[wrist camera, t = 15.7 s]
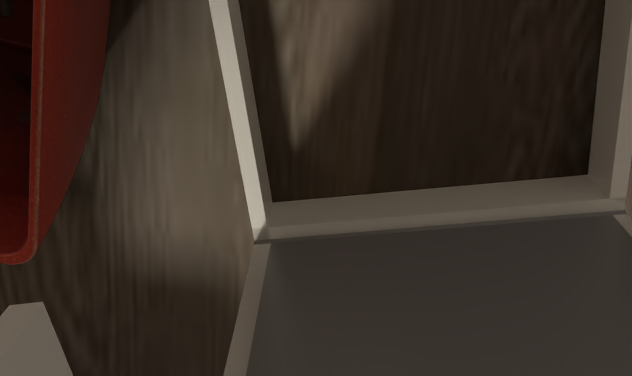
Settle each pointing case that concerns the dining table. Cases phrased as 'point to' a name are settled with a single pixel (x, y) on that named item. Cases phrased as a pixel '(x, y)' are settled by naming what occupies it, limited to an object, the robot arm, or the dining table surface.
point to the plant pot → (45, 111)
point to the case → (441, 257)
